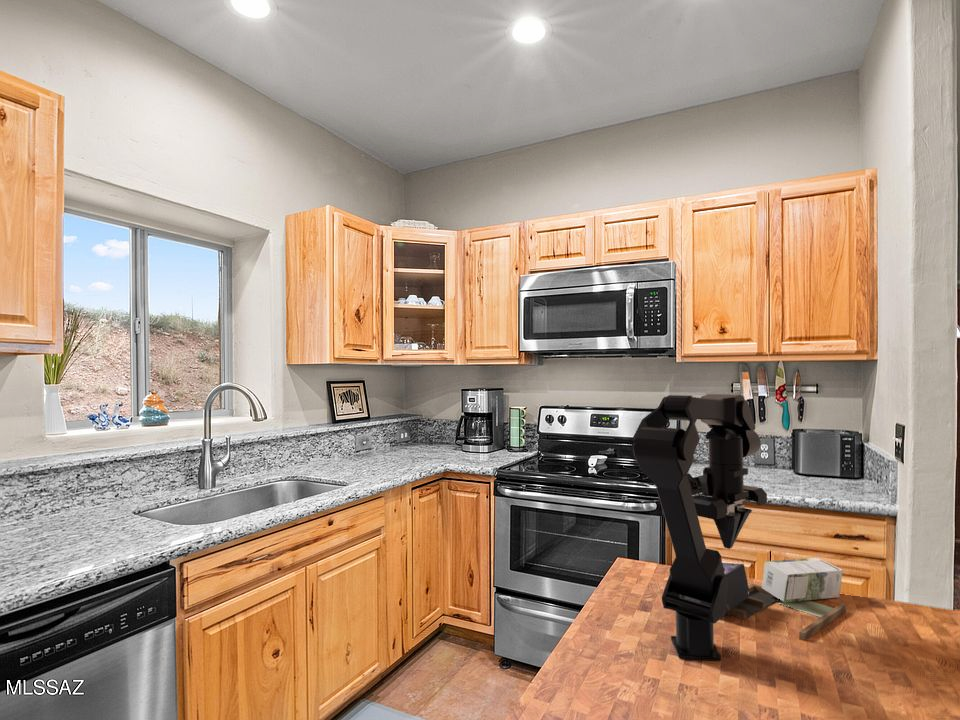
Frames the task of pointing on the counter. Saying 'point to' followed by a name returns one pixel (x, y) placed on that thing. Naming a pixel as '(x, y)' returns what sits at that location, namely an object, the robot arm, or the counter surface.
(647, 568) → the counter surface
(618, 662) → the counter surface
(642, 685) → the counter surface
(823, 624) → the lane
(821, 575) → the syrup box
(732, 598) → the small box
